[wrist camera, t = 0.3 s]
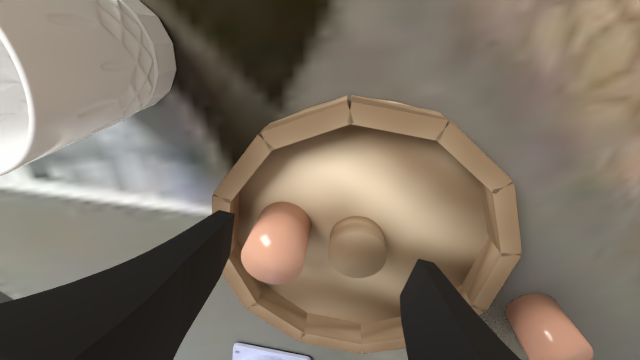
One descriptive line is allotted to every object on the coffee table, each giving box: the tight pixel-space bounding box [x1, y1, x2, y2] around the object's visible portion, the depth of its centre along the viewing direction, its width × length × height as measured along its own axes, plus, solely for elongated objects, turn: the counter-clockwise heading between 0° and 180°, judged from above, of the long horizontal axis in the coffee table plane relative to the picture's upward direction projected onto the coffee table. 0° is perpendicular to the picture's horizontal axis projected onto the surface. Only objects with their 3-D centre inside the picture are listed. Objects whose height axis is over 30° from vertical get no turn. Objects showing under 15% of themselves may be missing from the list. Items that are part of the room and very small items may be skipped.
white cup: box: [0, 0, 177, 176], centre depth 14 cm, size 8×8×10 cm
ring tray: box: [212, 95, 522, 354], centre depth 21 cm, size 20×20×3 cm
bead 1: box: [241, 202, 311, 285], centre depth 20 cm, size 4×4×4 cm
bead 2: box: [505, 293, 593, 360], centre depth 23 cm, size 4×4×4 cm
